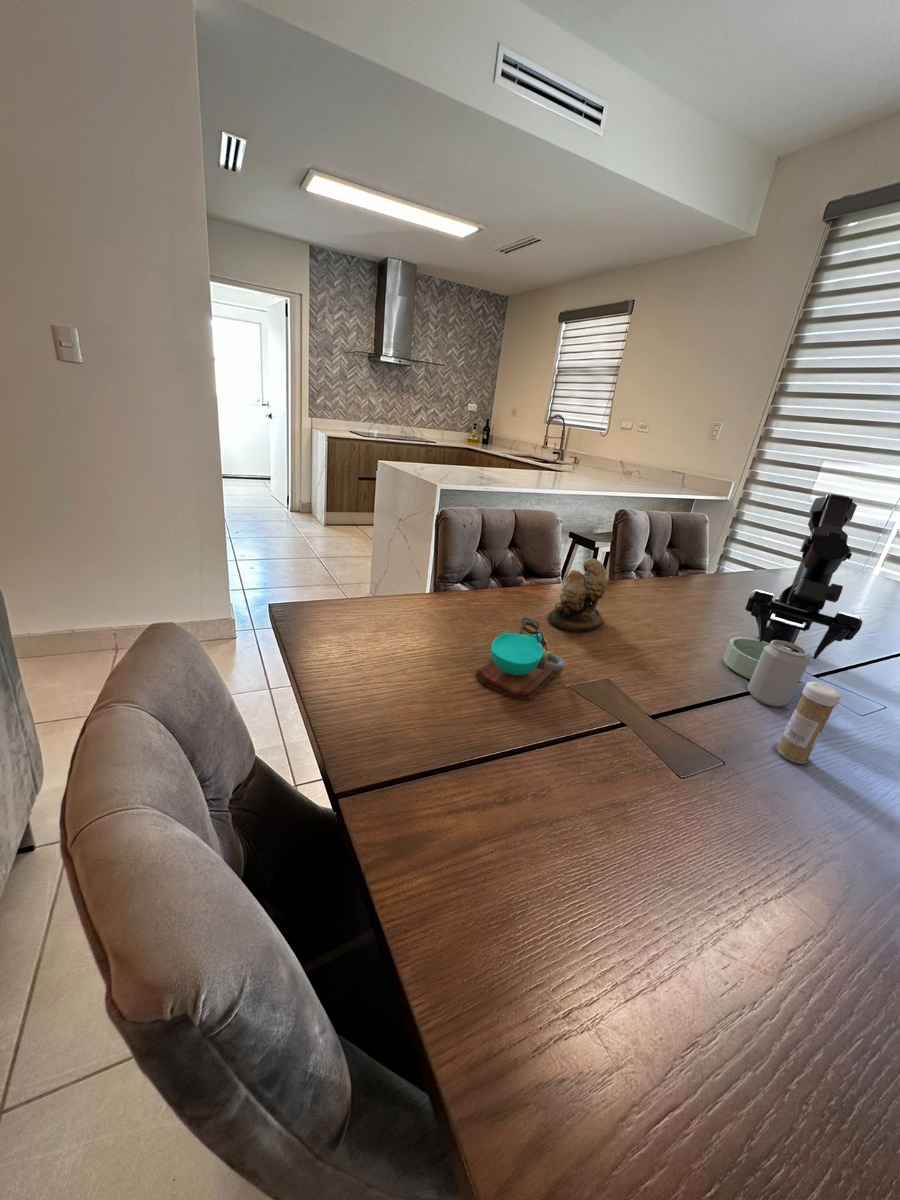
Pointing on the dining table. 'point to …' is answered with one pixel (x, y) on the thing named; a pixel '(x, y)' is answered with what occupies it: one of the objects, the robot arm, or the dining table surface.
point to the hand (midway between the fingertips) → (787, 649)
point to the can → (778, 673)
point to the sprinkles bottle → (807, 722)
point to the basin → (744, 655)
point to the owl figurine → (581, 598)
